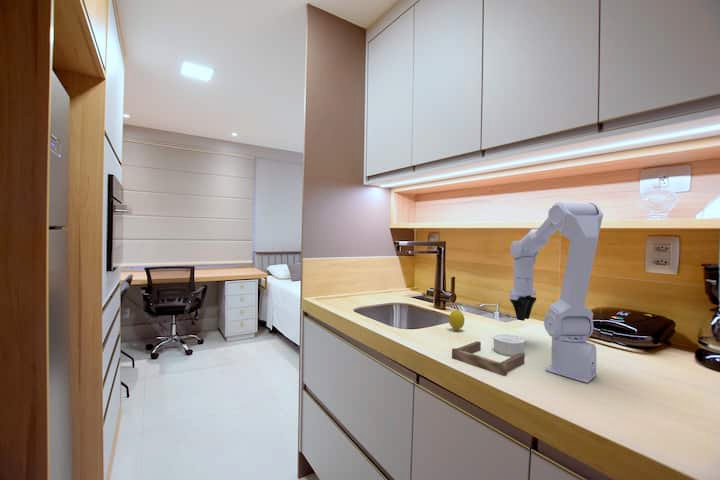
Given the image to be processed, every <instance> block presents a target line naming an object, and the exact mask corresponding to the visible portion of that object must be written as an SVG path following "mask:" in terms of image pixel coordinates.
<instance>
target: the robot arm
mask: <svg viewBox="0 0 720 480" xmlns="http://www.w3.org/2000/svg"><path fill="white" fill-rule="evenodd" d="M547 214H548V215H547V218H546V219H545V221H544V222H543V223H542V224H541V225H540V227H538V228H531V229H530V230H529V232H528V233H527V234H526V235H524V237H523V238H522V239H520V240H514V241H512V243H511V244H510V245H511V246H510V249H509V251H510V256H511V257H512V258H513V289H510V290H509V292H510V293H509V300H510V302H511V304H512V306H513V308H514V312H515V317H516V320H517V321H523V322H524V321H525V320H529V319H530V318H531V317H530V316H531V313H532V309H533V307H534V305H535V303H536V301H537V297H534V296H536V294H537V293H536V292H537V290H536V289H534V265H535V264H536V259H537V257H538V254H539V250H541V249H542V248H543V247H544V246H545V245H547V244H548V242H549V237H551V236H552V235H554V234H555V233H556V232H558V233H560V234H561V236H562V237H565V238H567V239H568V241H569V248H568V252H567V253H568V254H567V257H566V259H567V260H566V263H565V269H564V273H563V274H564V275H563V279H562V283H561V290H560V295H559V299H558V300H557V301H555V302H553V303H552V304H550V305H549V307H548V310H547V313H546V314H545V316H544V320H543V326H544V329H545V330H546V333H547V334H548V336H549V337H551V364H550V365H548V367H546V368H545V371H546V372H550V373H551V374H552V373H553V374H556V375H559V376H562V377H567V378H570V379H573V380H575V381H576V380H577V381H580V382H583V383H589V382H591V381H592V380H593V379H594V378H595V377H596V376H597V375H598V373H597V346H596V344H594V343H592V342H588V340H589V339H588V338H589V337H590V336H591V335H592V334H593V332H594V328H595V327H594V321H593V318H594V313H593V311H592V310H591V309H590V308H589V307H588V306H586V299H587V294H588V289H589V284H590V280H591V275H592V270H593V267H594V266H593V265H594V262H595V261H594V260H595V257H596V251H597V248H598V247H597V246H598V242H599V235H600V230H601V225H602V221H603V217H604V213H603V212H602V210H601V208H600V207H599V206H598V205H597V204H596V203H594V202H587V203H583V202H582V203H577V202H573V203H572V202H571V203H570V202H555V203H554V204H553V205H552V206H551V208H549V210H548V213H547Z"/></svg>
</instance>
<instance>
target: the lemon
mask: <svg viewBox="0 0 720 480" xmlns="http://www.w3.org/2000/svg"><path fill="white" fill-rule="evenodd" d="M448 321H449V325H450V327H451V328H452V329H454V330H455V331H459V329H462V328H463V327H464V326H465V325H464V324H465V316H464V313H463V312H462V311H460V310H459V309H454V310H453V311H451V312H450V314H449V318H448Z"/></svg>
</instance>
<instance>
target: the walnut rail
mask: <svg viewBox="0 0 720 480" xmlns="http://www.w3.org/2000/svg"><path fill="white" fill-rule="evenodd" d="M481 345H482V343H481V341H478V340H476V341H474V342H471V343H468V344H466V345H463V346H460V347H458V348H451V358H452V359H455V360H457V361H461V362H463V363H467V364H470V365H472V366H475V367H478V368H481V369H484V370H487V371H490V372H492V373H496V374H498V375H502V376H503V377H504V376H507V375H508V372H511V371H513V370H514V369H516V368H518V367H519V366H522V365H524V364H525V353H519V354H517V355H515V356H510V357H509V358H507V359H504V360H503V361H501V362H499V361H496V360H493V359H490V358H487V357H483V356H480V355H477V354H474V352H475V353H477V352H480V351H481V350H482V346H481ZM479 350H480V351H479ZM476 351H477V352H476Z"/></svg>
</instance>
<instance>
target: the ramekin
mask: <svg viewBox="0 0 720 480" xmlns="http://www.w3.org/2000/svg"><path fill="white" fill-rule="evenodd" d="M492 339H493V348H494V351H495V352H496V353H498V354H500V355H503V356H509V357H513V356H515V355H517V354H519V353H522V354H524V353H523V352H524V344H525V339H524V338H523V337H520V336H518V335H514V334H509V333H508V334H507V333H497V334H496V333H495V334H493V335H492Z"/></svg>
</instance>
